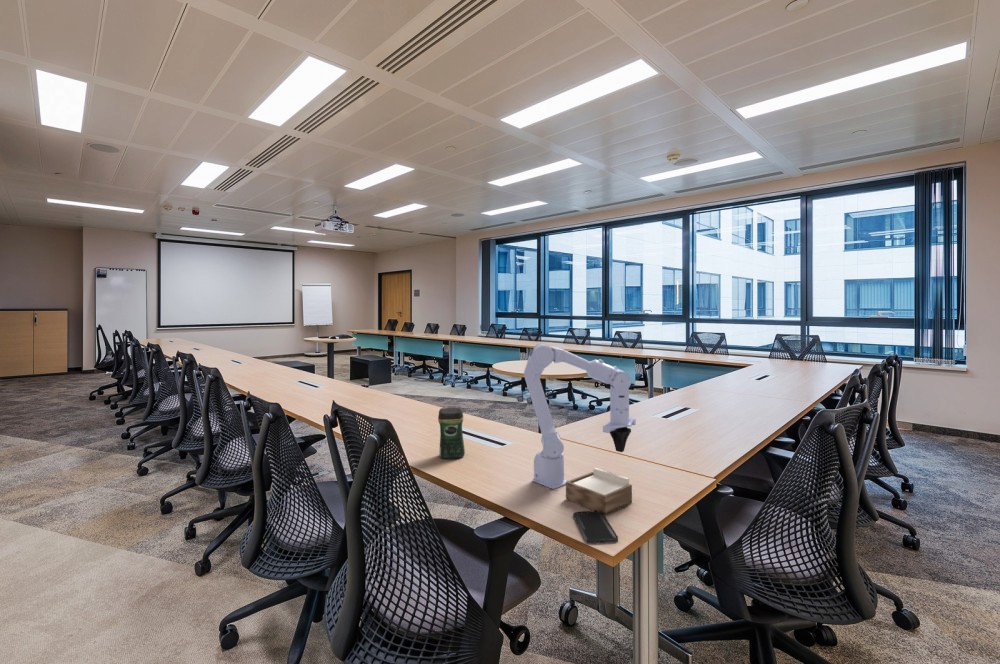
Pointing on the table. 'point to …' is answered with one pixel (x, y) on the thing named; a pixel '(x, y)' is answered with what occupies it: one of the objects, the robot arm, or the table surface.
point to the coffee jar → (451, 433)
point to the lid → (603, 481)
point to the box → (598, 496)
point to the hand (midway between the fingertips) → (619, 451)
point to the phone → (595, 527)
